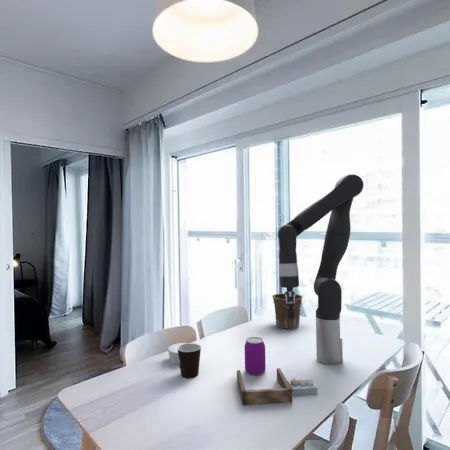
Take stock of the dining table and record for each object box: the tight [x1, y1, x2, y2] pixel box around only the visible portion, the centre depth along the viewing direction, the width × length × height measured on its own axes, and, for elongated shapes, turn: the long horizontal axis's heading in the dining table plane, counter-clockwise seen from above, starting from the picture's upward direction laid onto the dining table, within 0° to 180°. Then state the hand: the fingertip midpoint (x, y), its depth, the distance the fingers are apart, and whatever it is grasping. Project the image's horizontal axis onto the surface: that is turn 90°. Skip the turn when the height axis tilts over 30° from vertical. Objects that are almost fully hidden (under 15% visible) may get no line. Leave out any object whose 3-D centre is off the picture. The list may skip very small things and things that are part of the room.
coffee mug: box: [178, 342, 202, 380], centre depth 121 cm, size 12×9×10 cm
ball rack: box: [286, 377, 318, 396], centre depth 107 cm, size 8×6×4 cm
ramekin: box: [167, 342, 188, 366], centre depth 133 cm, size 11×11×5 cm
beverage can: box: [244, 336, 267, 377], centre depth 121 cm, size 8×8×12 cm
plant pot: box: [271, 292, 303, 330], centre depth 176 cm, size 16×16×16 cm
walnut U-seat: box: [236, 367, 293, 406], centre depth 107 cm, size 15×15×4 cm
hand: (291, 316), depth 128 cm, fingers open, 8 cm apart
